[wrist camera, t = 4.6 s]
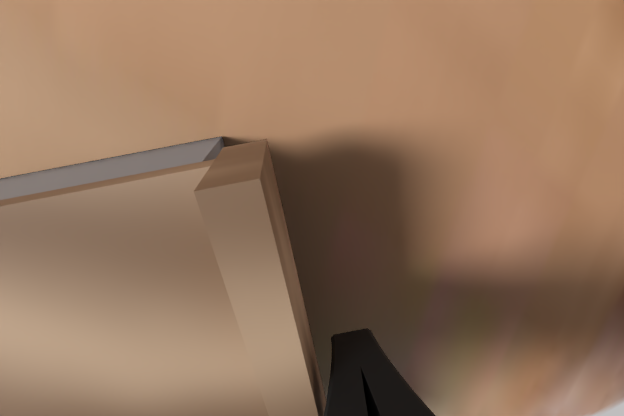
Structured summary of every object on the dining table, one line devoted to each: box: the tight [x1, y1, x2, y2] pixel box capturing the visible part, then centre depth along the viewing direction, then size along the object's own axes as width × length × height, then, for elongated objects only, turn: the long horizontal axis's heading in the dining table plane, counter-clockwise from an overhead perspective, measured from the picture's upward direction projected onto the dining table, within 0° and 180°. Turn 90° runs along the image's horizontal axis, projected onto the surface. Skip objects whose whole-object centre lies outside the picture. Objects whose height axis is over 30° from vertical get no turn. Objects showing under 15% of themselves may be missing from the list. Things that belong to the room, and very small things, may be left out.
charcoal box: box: [0, 137, 225, 200], centre depth 13 cm, size 14×14×4 cm
